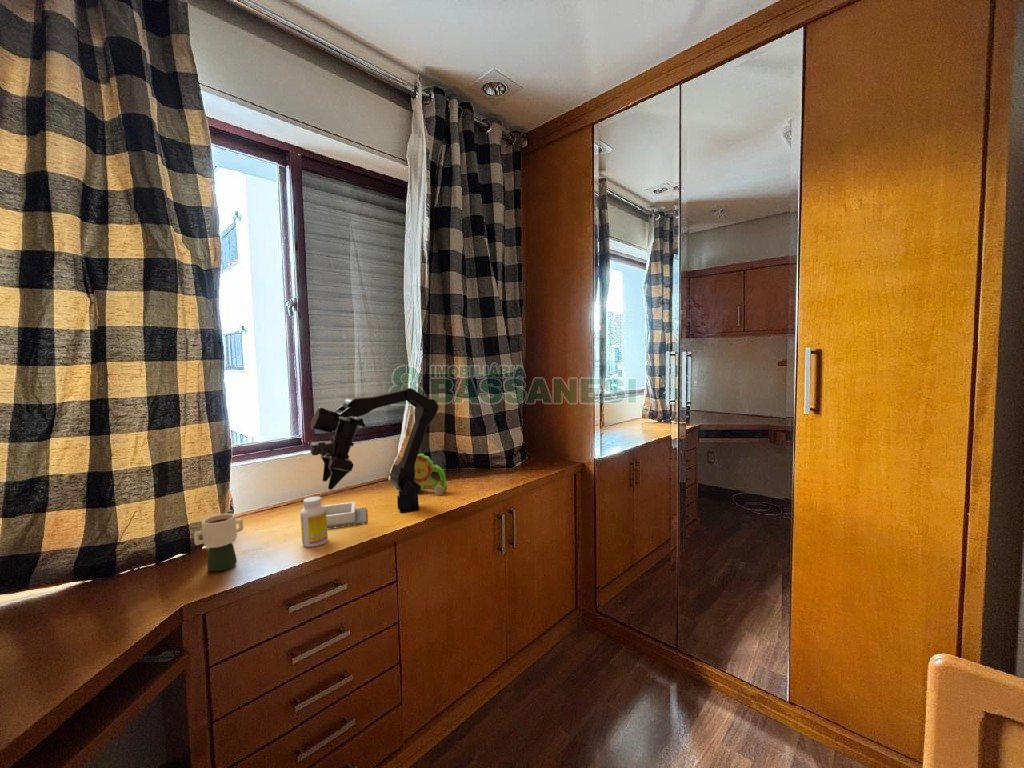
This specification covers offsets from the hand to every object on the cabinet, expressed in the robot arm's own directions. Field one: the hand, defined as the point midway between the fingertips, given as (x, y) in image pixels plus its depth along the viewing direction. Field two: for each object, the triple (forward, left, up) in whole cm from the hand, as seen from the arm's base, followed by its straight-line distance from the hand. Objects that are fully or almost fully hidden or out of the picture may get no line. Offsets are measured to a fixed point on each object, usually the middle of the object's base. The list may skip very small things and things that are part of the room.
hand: (326, 485), depth 132 cm
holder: (-2, -6, -14) cm, 15 cm away
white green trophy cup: (+24, +17, -14) cm, 32 cm away
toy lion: (-33, -22, -14) cm, 42 cm away
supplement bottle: (+3, +10, -14) cm, 17 cm away
